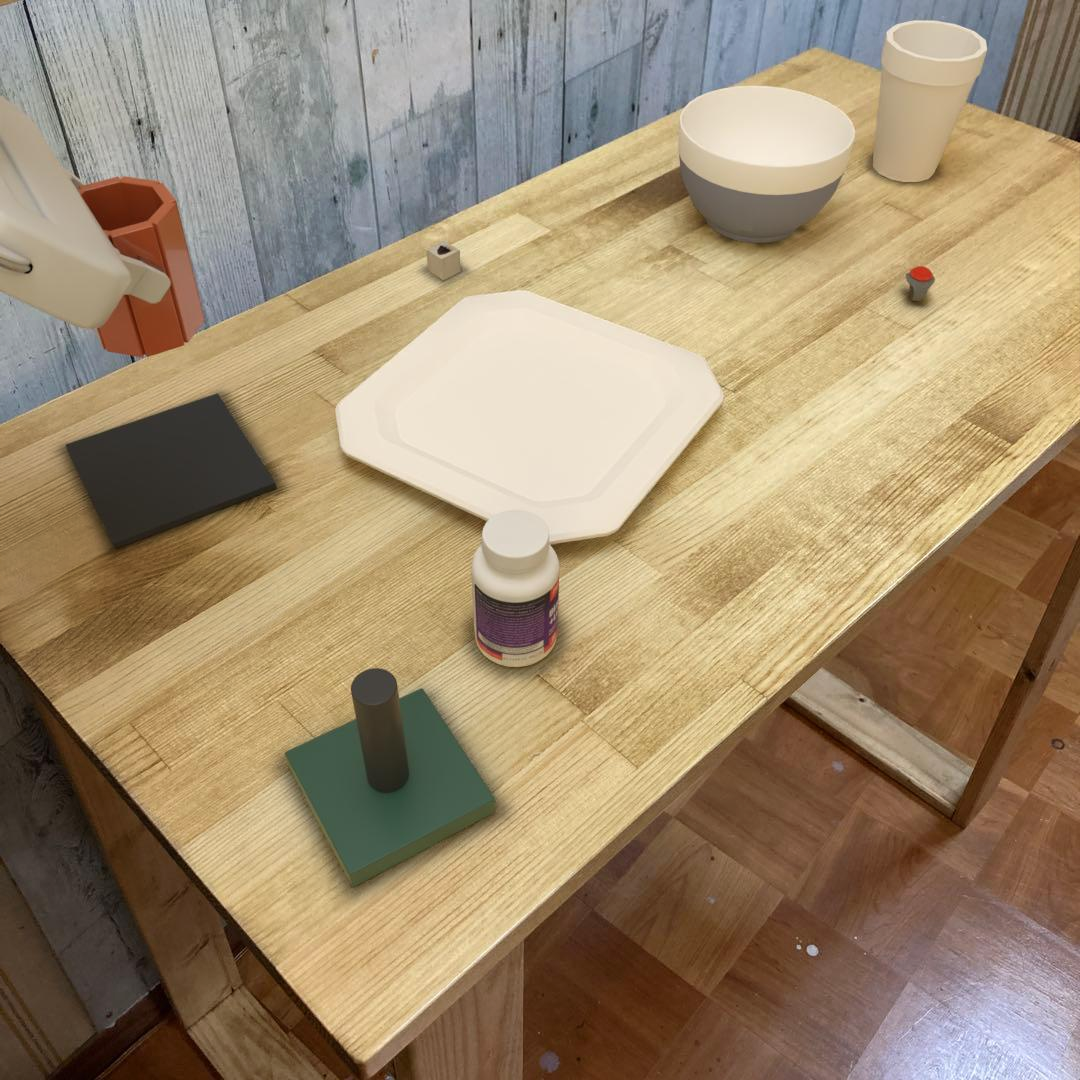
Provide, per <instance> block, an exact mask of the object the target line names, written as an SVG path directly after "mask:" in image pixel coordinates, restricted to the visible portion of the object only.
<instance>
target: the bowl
mask: <svg viewBox="0 0 1080 1080" xmlns="http://www.w3.org/2000/svg"><path fill="white" fill-rule="evenodd" d="M677 138H678V142H677V147H678V148H677V150H678V151H677V153H678V158H679V170H680V178H681V179H682V182H683V184H684V187H685V189H686V191H687V194H688V196H689V199H690V200H691V203H692V205H693V206H694V208H696V210H697V211H698V212H699V213H700V214H701V215H702V216H703V217H704V219H705V222H706V223H707V224H708V226H709V227H710V228H711V229H712V230H714V231H715V232H716V233H718V234H719V235H721V236H722V237H725V238H728V239H731V240H734V241H738V242H742V243H749V244H751V243H752V244H766V243H767V244H768V243H774V242H779V241H782V240H784V239H787V238H788V237H790V236H792V235H793V234H794V233H795V232H796V231H797V229H798V228H800V227H802V226H804V225H806V224H808V223H810V222H811V221H812V220H813V219H814V218H815V217H816V216H817V215H819V213H820V212H821V210H823V208H824V207H825V206H826V205H827V204H828V203H829V202H830V201H831V199H832V197H833V196H834V194H835V193H836V192H837V189H838V187H839V184H840V182H841V181H842V178H843V176H844V174H845V171H846V169H847V167H848V165H849V160H850V157H851V154H852V150H853V146H854V143H855V138H856V130H855V126H854V123H853V122H852V120H851V119H850V117H849V116H848V115H847V113H845V112H844V111H843V110H842V109H841V108H839V107H838V106H836V105H834V104H833V103H831V102H830V101H827V100H825V99H823V98H821V97H818V96H817V95H813V94H810V93H807V92H804V91H801V90H795V89H790V88H786V87H779V86H771V85H737V86H730V87H723V88H718V89H715V90H711V91H707V92H706V93H703V94H701V95H698V96H696V97H695V98H693V99H692V100H690V101H689V102H688V103H687V104H686V105H685V106H684V107H683V108H682V110H681V113H680V115H679V118H678V137H677Z"/></svg>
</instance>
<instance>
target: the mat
mask: <svg viewBox="0 0 1080 1080" xmlns="http://www.w3.org/2000/svg"><path fill="white" fill-rule="evenodd" d="M65 448H66V450H67V453H68V455H69V456H70V459H71V461H72V463H73V465H74V467H75V470H76V471H77V474H78V475H79V477H80V480H81V482H82V484H83V486H84V488H85V490H86V492H87V494H88V496H89V499H90V501H91V503H92V505H93V507H94V509H95V511H96V513H97V515H98V517H99V519H100V522H101V523H102V526H103V527H104V530H105V532H106V535H107V536H108V538H109V540H110V542H111V544H112V546H113V548H114V549H115V550H116V549H119V548H121V547H124V546H127V545H130V544H133V543H135V542H138V541H140V540H143V539H145V538H148V537H152V536H153V535H156V534H159V533H163V532H164V531H167V530H170V529H172V528H175V527H177V526H180V525H183V524H186V523H188V522H190V521H193V520H195V519H199V518H202V517H204V516H207V515H209V514H212V513H215V512H217V511H220V510H222V509H225V508H229V507H231V506H233V505H236V504H238V503H241V502H243V501H246V500H249V499H252V498H255V497H257V496H260V495H262V494H265V493H268V492H270V491H273V490H276V489H277V484H276V482H275V480H274V478H273V476H272V475H271V474H270V472H269V470H268V469H267V467H266V465H265V464H264V463H263V461H262V459H261V458H260V456H259V455H258V453H257V451H256V450H255V448H254V447H253V446H252V444H251V443H250V441H249V439H248V438H247V437H246V435H245V434H244V432H243V430H242V429H241V427H240V426H239V424H238V423H237V421H236V420H235V418H234V416H233V415H232V413H231V411H230V410H229V408H228V407H227V405H226V404H225V402H224V400H223V399H222V397H221V396H220V395H219V393H213V394H211V395H208V396H205V397H202V398H200V399H196V400H193V401H190V402H187V403H184V404H181V405H178V406H176V407H173V408H169V409H167V410H164V411H160V412H157V413H155V414H154V413H153V414H151V415H149V416H145V417H142V418H140V419H136V420H134V421H131V422H128V423H124V424H121V425H119V426H116V427H113V428H110V429H107V430H104V431H101V432H98V433H95V434H92V435H90V436H89V435H88V436H86V437H84V438H81V439H77V440H74V441H72V442H68V443H66V444H65Z"/></svg>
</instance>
